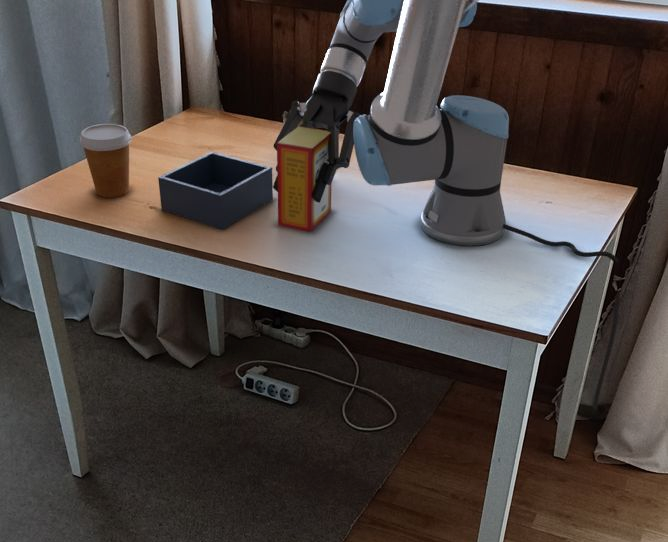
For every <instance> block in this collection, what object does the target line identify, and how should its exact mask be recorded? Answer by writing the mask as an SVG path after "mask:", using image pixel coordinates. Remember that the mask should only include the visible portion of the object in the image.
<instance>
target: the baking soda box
mask: <svg viewBox="0 0 668 542" xmlns="http://www.w3.org/2000/svg"><path fill="white" fill-rule="evenodd" d="M330 135H331V132H328V129H322V128H317V129H315V128H309V127H301V126H298V127H297V128H296V129H295V130H293V131H292V132H291V133H289V134H288V135H286V136H285V137H284V138H283V139H281V140H280V141H279V142H278V143H277V151H276V166H277V171H276V177H277V182H278V192H277V220H278V221H277V226H279V227H284V228H289V229H294V230H299V231H302V232H303V231H304V232H308V233H312V232H313V231H314V230H315V229H316V228H317V227H318V226H319V224H321V223H322V222H323V220H324V219H325V218H327V216H328V215H329V214H331V212H332V184H333V182H332V183H331V184H330V185H326V187H325V190H324V193H323V196H322V198H321V201H320V203H319V202H316V201H315V200H314V199H313V198H312V196H311V195H312V192H313V189H314V187H315V184H316V181H317V178H318V176H319V173H320V170H321V168H322V165H323V162H324V163H327V164H329V162H328V161H327V159H328V141H329V138H330Z"/></svg>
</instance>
